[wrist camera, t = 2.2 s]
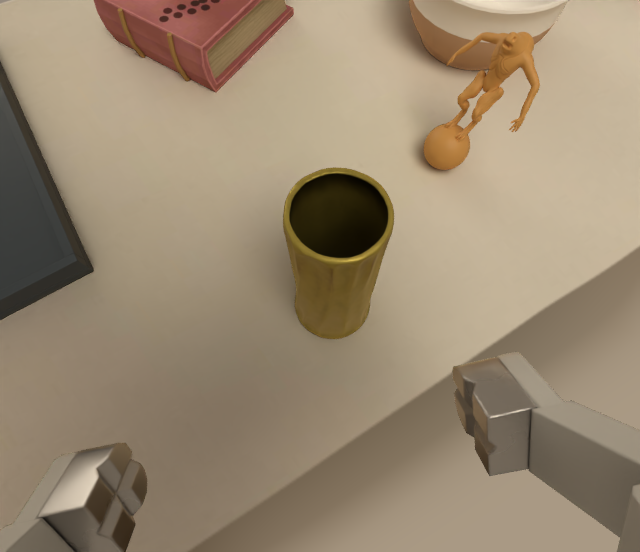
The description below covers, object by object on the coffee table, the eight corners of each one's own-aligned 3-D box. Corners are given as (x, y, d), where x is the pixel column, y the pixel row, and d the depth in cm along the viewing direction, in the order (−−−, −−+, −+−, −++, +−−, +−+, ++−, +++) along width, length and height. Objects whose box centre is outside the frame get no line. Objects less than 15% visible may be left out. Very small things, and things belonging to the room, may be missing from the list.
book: (111, 45, 42) (85, -2, 37) (199, -28, 46) (185, -78, 42) (210, 97, 39) (195, 53, 34) (293, 14, 43) (290, -35, 39)
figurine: (398, 140, 37) (431, 16, 25) (447, 115, 38) (499, -13, 26) (449, 202, 34) (512, 95, 23) (501, 174, 35) (584, 59, 24)
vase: (300, 265, 32) (283, 153, 18) (371, 272, 32) (406, 164, 18) (290, 335, 30) (263, 266, 16) (367, 343, 29) (403, 279, 16)
